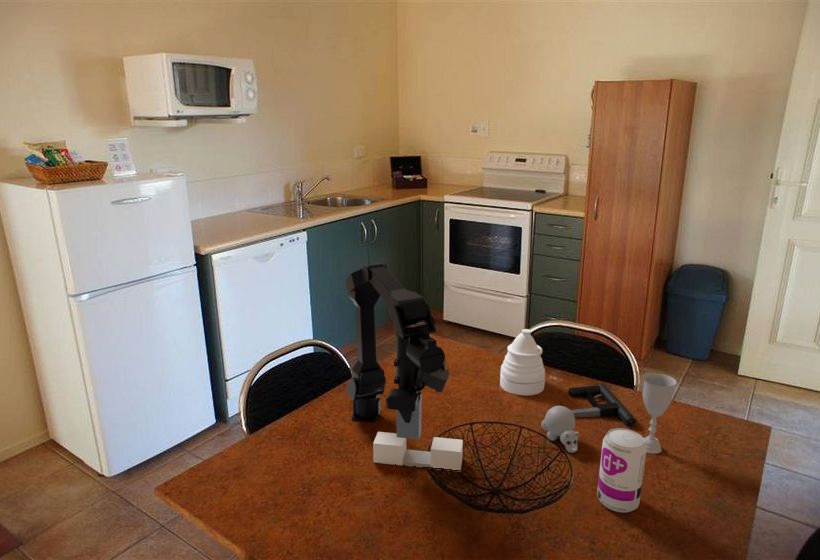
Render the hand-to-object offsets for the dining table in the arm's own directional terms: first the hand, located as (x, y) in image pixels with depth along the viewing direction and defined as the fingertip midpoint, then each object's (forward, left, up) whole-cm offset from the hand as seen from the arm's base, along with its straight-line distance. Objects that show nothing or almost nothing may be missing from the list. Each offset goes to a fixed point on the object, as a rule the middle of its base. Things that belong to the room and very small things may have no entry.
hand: (409, 418), depth 126 cm
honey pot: (+26, +46, -12) cm, 54 cm away
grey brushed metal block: (0, 0, -4) cm, 4 cm away
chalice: (+56, +18, -12) cm, 60 cm away
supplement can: (+45, -4, -12) cm, 47 cm away
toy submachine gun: (+45, +35, -13) cm, 58 cm away
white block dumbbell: (+2, +3, -12) cm, 13 cm away
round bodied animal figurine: (+35, +16, -13) cm, 40 cm away
